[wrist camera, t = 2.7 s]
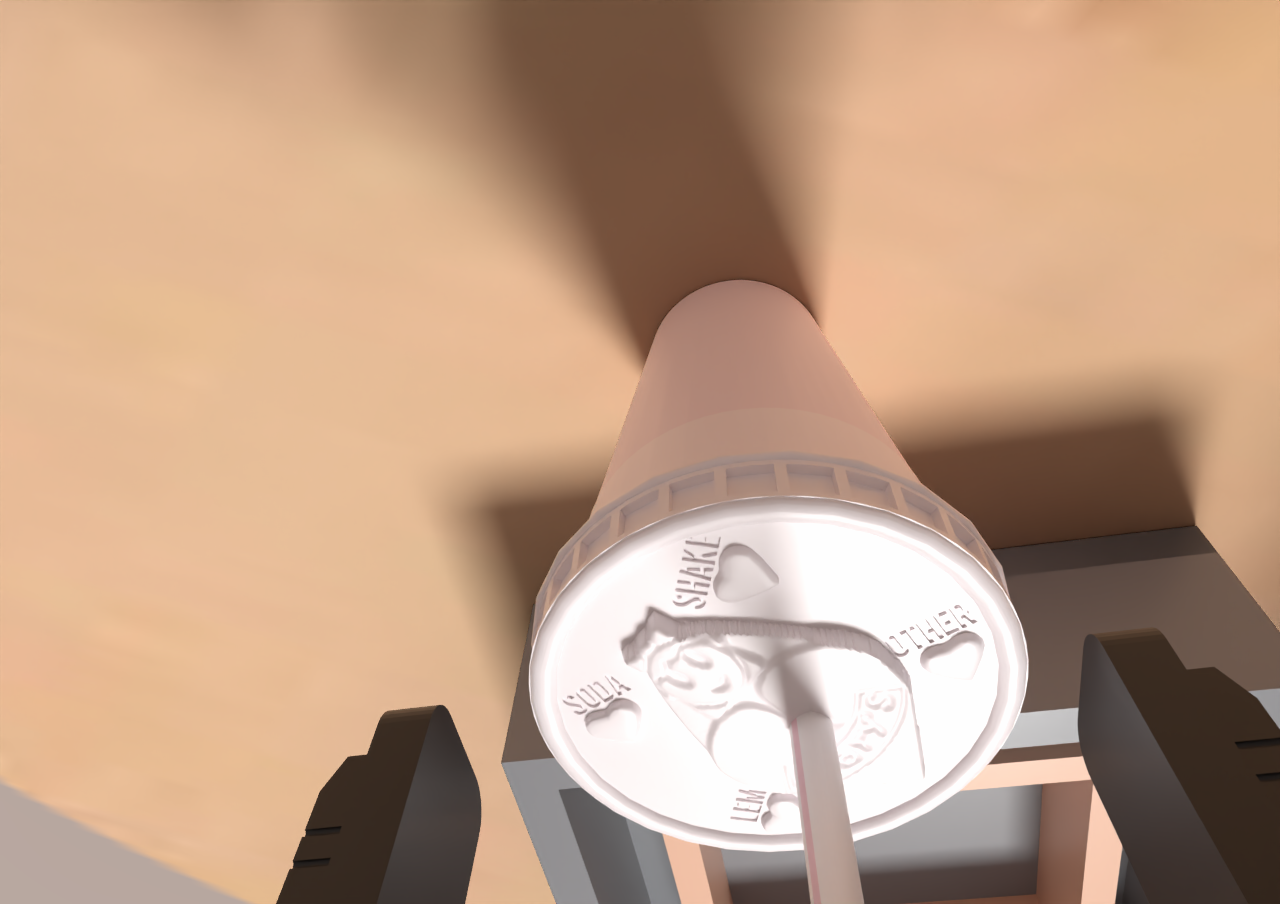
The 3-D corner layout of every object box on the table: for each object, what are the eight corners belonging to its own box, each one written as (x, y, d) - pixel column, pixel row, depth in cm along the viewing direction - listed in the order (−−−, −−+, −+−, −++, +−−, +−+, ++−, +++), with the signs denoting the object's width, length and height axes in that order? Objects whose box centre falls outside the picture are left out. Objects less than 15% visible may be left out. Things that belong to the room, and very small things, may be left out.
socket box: (533, 604, 24) (501, 762, 20) (1196, 525, 22) (1320, 683, 18) (646, 954, 32) (640, 1119, 28) (1135, 921, 30) (1209, 1094, 26)
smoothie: (773, 526, 22) (875, 1275, 10) (535, 402, 21) (339, 1116, 9) (953, 315, 19) (1384, 1033, 7) (689, 152, 18) (703, 726, 6)
